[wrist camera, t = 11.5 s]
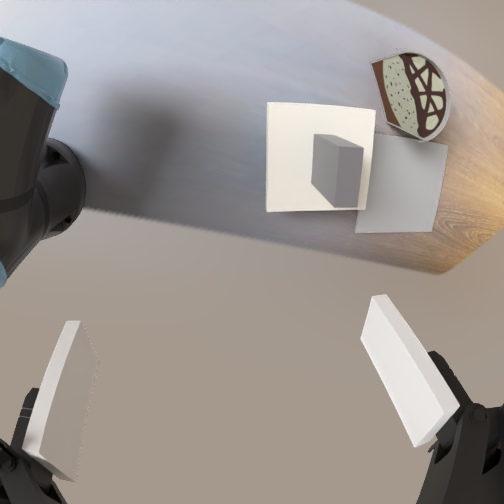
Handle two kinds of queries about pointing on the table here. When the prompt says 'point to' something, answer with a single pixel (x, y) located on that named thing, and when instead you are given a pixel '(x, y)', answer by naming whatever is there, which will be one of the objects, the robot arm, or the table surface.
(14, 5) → the table surface
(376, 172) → the mat
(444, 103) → the food container
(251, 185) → the table surface
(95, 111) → the table surface
